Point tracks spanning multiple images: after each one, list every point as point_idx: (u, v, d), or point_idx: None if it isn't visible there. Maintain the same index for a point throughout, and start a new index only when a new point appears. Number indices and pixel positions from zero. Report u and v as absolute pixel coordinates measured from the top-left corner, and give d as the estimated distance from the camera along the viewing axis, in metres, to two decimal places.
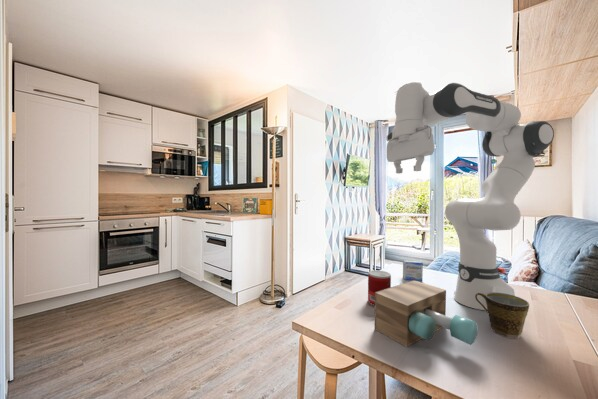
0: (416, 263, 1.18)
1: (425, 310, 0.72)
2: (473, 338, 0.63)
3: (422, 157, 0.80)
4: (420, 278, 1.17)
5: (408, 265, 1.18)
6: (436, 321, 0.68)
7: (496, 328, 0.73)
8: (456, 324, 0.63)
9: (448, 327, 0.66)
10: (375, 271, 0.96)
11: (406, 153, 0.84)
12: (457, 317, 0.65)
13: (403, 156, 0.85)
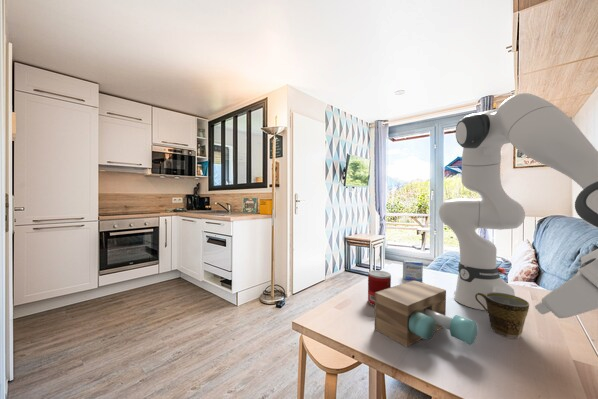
0: (416, 263, 1.18)
1: (425, 310, 0.72)
2: (473, 338, 0.63)
3: None
4: (420, 278, 1.17)
5: (408, 265, 1.18)
6: (436, 321, 0.68)
7: (496, 328, 0.73)
8: (456, 324, 0.63)
9: (448, 327, 0.66)
10: (375, 271, 0.96)
11: None
12: (457, 317, 0.65)
13: None
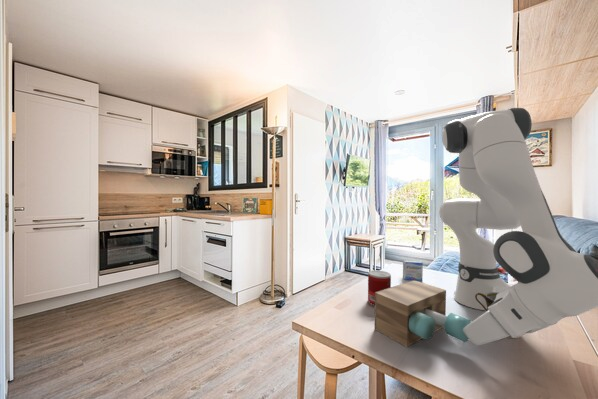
0: (416, 263, 1.18)
1: None
2: None
3: None
4: (420, 278, 1.17)
5: (408, 265, 1.18)
6: None
7: None
8: (450, 322, 0.64)
9: (443, 325, 0.67)
10: (375, 271, 0.96)
11: None
12: (452, 315, 0.66)
13: None
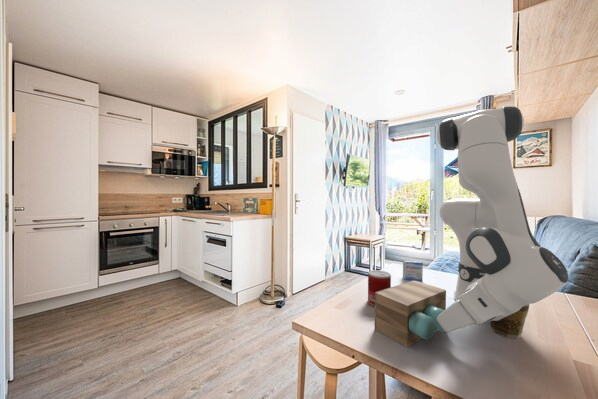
0: (416, 263, 1.18)
1: None
2: None
3: None
4: (420, 278, 1.17)
5: (408, 265, 1.18)
6: None
7: (496, 328, 0.73)
8: (428, 313, 0.69)
9: None
10: (375, 271, 0.96)
11: None
12: (430, 307, 0.71)
13: None
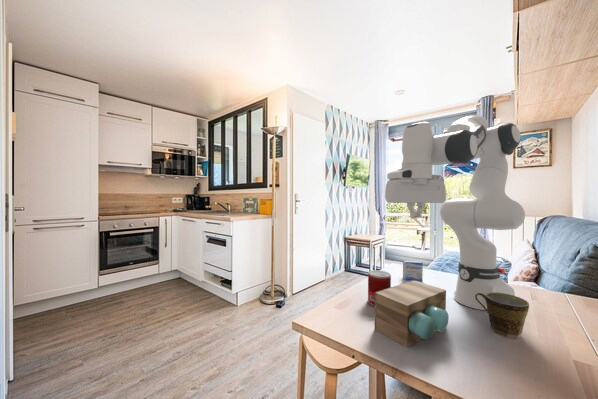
0: (416, 263, 1.18)
1: None
2: (444, 326, 0.68)
3: None
4: (420, 278, 1.17)
5: (408, 265, 1.18)
6: None
7: (496, 328, 0.73)
8: (428, 313, 0.69)
9: None
10: (375, 271, 0.96)
11: (424, 198, 0.79)
12: (430, 307, 0.71)
13: (420, 200, 0.78)
